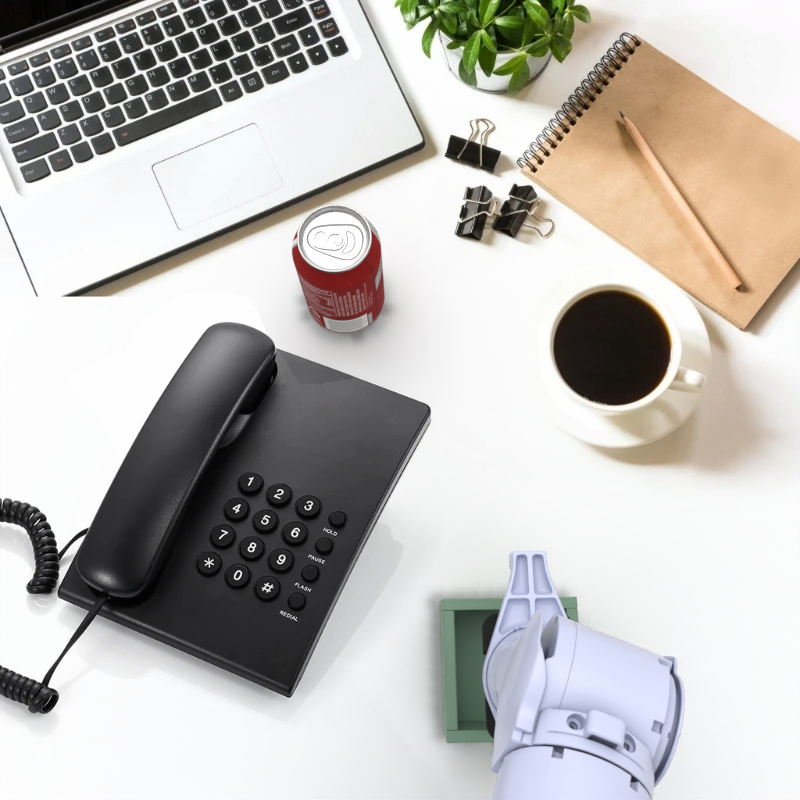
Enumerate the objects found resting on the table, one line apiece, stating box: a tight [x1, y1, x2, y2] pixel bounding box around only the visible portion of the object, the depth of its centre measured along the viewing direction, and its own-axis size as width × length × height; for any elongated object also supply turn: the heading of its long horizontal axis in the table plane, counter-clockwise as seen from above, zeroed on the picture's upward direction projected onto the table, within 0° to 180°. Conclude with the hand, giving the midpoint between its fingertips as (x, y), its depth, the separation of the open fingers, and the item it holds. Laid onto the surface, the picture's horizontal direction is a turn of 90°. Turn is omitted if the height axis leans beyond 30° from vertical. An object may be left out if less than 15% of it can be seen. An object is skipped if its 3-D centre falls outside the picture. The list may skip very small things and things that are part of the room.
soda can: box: [291, 203, 386, 335], centre depth 65 cm, size 7×7×12 cm
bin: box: [439, 596, 580, 744], centre depth 59 cm, size 10×10×6 cm
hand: (515, 669), depth 55 cm, fingers closed
